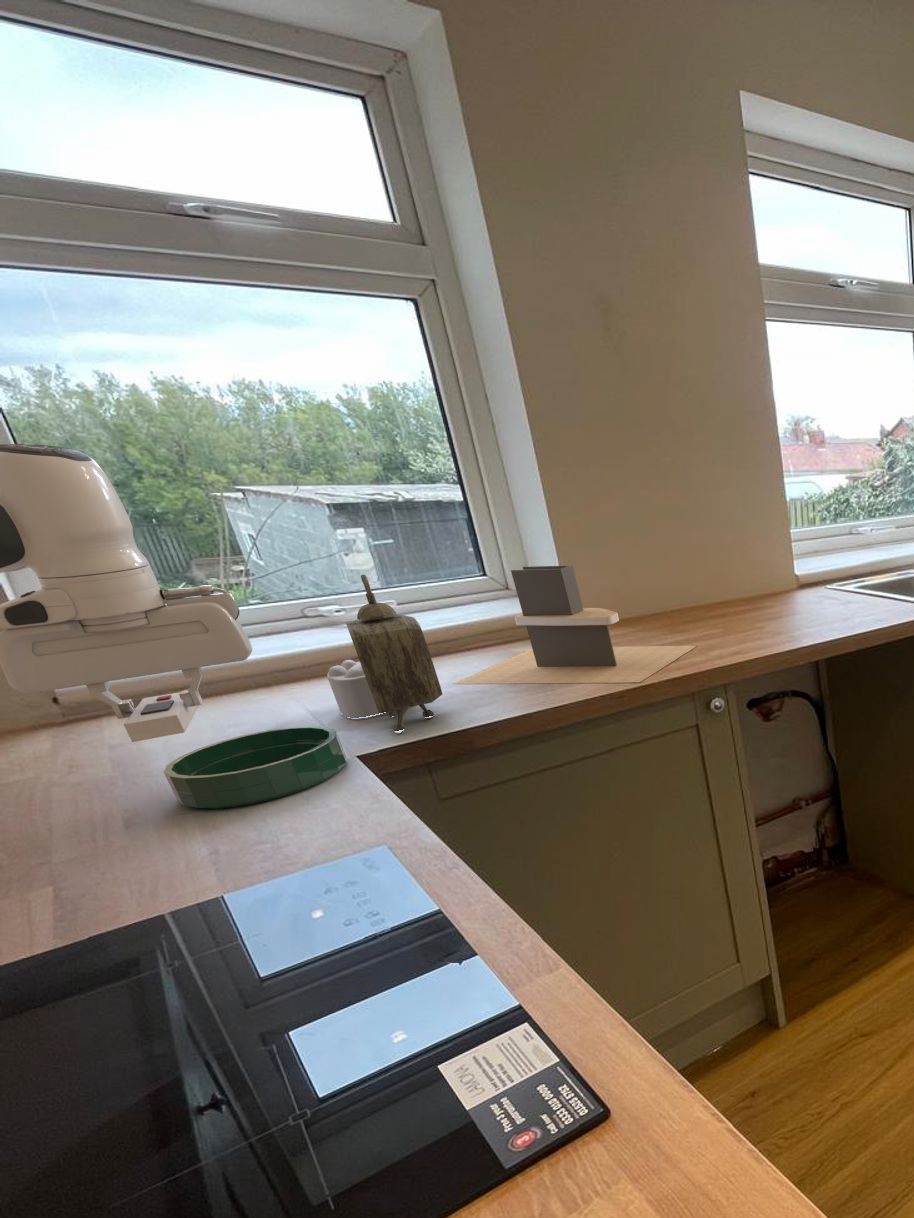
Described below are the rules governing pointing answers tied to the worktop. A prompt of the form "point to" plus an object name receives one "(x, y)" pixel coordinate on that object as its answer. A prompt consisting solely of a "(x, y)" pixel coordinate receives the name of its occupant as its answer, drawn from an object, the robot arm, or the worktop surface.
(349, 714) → the lumpy-topped squat cylinder
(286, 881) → the worktop surface
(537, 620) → the architectural model
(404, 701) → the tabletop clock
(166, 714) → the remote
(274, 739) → the bowl
